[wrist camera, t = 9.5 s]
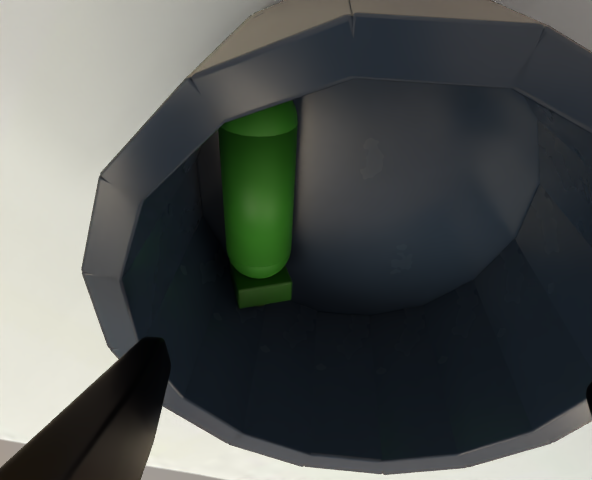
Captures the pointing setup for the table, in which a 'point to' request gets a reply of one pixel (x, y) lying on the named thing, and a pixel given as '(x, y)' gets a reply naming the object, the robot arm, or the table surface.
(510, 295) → the pot
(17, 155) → the table surface
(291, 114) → the zucchini
